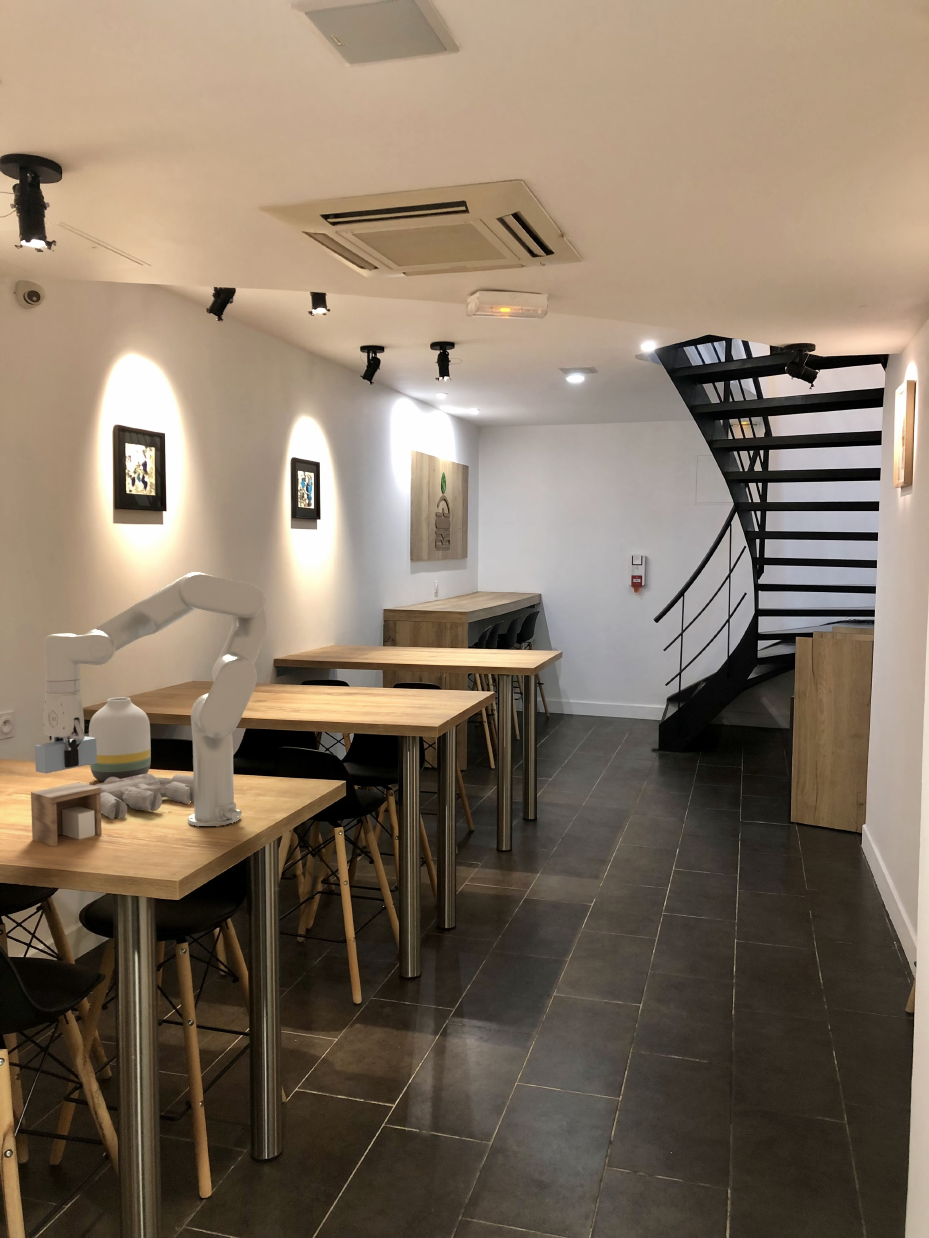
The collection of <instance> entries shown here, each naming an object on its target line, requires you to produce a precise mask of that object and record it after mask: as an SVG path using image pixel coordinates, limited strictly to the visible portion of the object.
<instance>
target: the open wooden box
mask: <svg viewBox="0 0 929 1238" xmlns="http://www.w3.org/2000/svg"><path fill="white" fill-rule="evenodd" d="M93 785H94V784H93ZM93 785H92V784H89V783H85V782H81V781H78V782H73V783H68V784H64V785H59V786H58V785H57V786H54V787H50V788H45V789H39V790H36V791H31V792H30V805H31V806H30V807H31V811H30V812H31V833H32V834H31V835H32V836H31V837H32V838H31V839H33V840H32V841H34V840H36V841H35V842H37V841H39V842H38V843H40V842H42V843H41V844H44V843H45V844H44V845H47V846H50V845H51V846H50V847H53V846H55V847H58V846H57V845H58V843H59V842H58V835H63V825H62V810H63V809H67V808H71V807H76V806H79V807H83V808H87V809H90V810H94V818H95V836H100V835H102V834H103V832H102V829H103V828H102V813H101V796H100V787H97V786H93Z"/></svg>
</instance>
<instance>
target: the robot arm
mask: <svg viewBox="0 0 929 1238" xmlns="http://www.w3.org/2000/svg"><path fill="white" fill-rule="evenodd" d="M265 601H266V598H265V595H264V592H263V590H262V589H261V587H259V586H258V585H256V584H253V583H251V582H246V581H240V580H236V579H235V580H234V579H231V578H224V577H220V576H215V575H211V574H207V573H204V572H203V573H202V572H190V573H187V574H185V575H183V576H181V577H179V578H178V579H176V580H174V581H173V582H170V583H169V584H168V585H166V586H164V587H163V588H161V589H158V591H156V592H154V593H152V594H151V595H148V596H147V597H145V598H143V599H142V600H140V601H138V602H137V603H135V604H133V605H131V606H130V607H129V608H127V609H125V610H124V611H123V612H120V613H118V614H117V615H115V616H113V617H111V618H110V619H108V620H106V621H104V622H103V623H101V624H100V625H97V626H96V627H94V628H92V629H90V630H89V631H87V632H86V633H85V634H79V635H77V634H75V633H52V634H49V635H47V636H45V638H44V641H43V648H44V649H43V650H44V651H43V652H44V678H45V681H44V682H45V694H44V699H43V709H42V712H43V713H42V731H43V734H44V735H46V736H48V738H49V741H50V743H52V742H57V741H63V740H65V745H66V750H65V751H64V758H65V767H66V768H69V767H74V766H78V765H79V755H78V749H79V748H80V743H81V742H82V741H83V740H84V738H85V737H86V736H85V734H84V731H85V717H84V707H83V699H82V696H81V695H82V694H81V693H82V683H81V665H92V666H101V665H105V664H107V663H109V662H110V661H111V660H112V659H113V658H114V656H115V654H116V652H117V651H119V650H121V649H123V648H124V647H126V646H127V645H129V644H132V643H133V642H135V641H137V640H139V639H142V638H143V637H148V636H150V635H155V634H157V633H159V632H161V631H163V630H165V629H167V628H168V627H170V626H171V625H174V624H175V623H177V622H178V621H180V620H181V619H183V618H185V617H187V616H188V615H190V614H191V613H193V612H195V611H196V610H203V611H207V612H211V613H216V614H221V615H227V616H231V621H232V622H231V627H230V631H229V633H228V635H227V639H226V641H225V643H224V645H223V647H222V649H221V651H220V653H219V656H218V657H217V658H216V661H215V663H214V665H213V667H212V670H211V677H212V678H211V679H212V681H213V683H212V686H211V687H210V689H209V692H208V693H205V694H202V695H200V696H199V697H198V698H197V699H195V701H194V702H193V705H192V708H191V709H190V726H191V727H190V728H191V736H192V756H193V757H192V765H193V766H192V768H193V776H194V804H193V808H194V813H192V814H190V815H189V816H188V818H187V822H188V824H189V825H191V826H194V825H195V826H194V827H199V826H216V827H219V826H218V825H224V826H226V825H225V824H229V823H232V822H235V823H237V822H239V821H240V820H241V818H240V817H241V816H242V810H240V809H237V803H236V802H235V797H234V796H235V795H234V794H235V793H234V790H235V787H234V785H235V784H234V747H233V746H234V745H233V744H234V743H233V742H234V741H233V732H234V731H235V729H236V728H237V727H238V725H239V723H240V721H241V719H242V717H243V715H244V713H245V711H246V708H247V706H248V704H249V701H250V699H251V698H252V696H253V693H254V691H255V688H256V686H257V685H256V684H257V681H258V674H257V668H256V667H255V663H256V661H257V659H258V656H259V653H260V651H261V648H262V647H263V643H264V641H265V638H266V635H267V629H268V627H267V626H268V625H267V623H268V621H267V616H266V610H265V608H264V607H265V603H266V602H265ZM70 739H73V740H72V741H71V743H70ZM239 819H240V820H239ZM238 820H239V821H238ZM236 821H237V822H236ZM232 824H233V823H232ZM229 825H230V824H229Z"/></svg>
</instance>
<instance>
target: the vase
mask: <svg viewBox="0 0 929 1238" xmlns="http://www.w3.org/2000/svg"><path fill="white" fill-rule="evenodd" d="M89 721H90V722H89V726H88V737H92V738H96V746H97V763H95V764H91V765H89V766H90V772H91V774H92V776H93V777H94V778H95V779H96V780H97V781H99V782H101V783H104V782H105V780H106V779H108V778H109V777H116V778H119V779H123V778H127V777H132V776H137V775H141V774H149V770H150V768H151V759H152V758H151V757H152V756H151V753H152V752H151V749H152V748H151V724H150V719H149V717H148V714H147V713H146V712H145V711H144V710H143V709H141V708H140V707H138V706H137V705H135V704H134V703H133V702H132V700H131V698H130V697H125V696H123V697H120V696H119V697H111V698H108V699H107V700H106V704H105V705H104V706H102V707H101V708H100V709H99V710H97V711H96V712H95V713H94V714H93V715H92V717H91V719H90V720H89Z"/></svg>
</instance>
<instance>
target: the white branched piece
mask: <svg viewBox="0 0 929 1238" xmlns="http://www.w3.org/2000/svg"><path fill="white" fill-rule="evenodd" d="M93 786H97V787H100V796H101V814H103V815H104V816H105V817H107V818H109V819H110V820H115V817H116V818H118V819H123V818H124V817H126V815H127V812H128V807H130V808H131V809H133V810H139V811H140V810H141V811H146V812H147V811H149V812H157V811H158V810H159V809H160V808H161V806H162V804H163V798H167V799H168V800H171V801H173V800H174V802H177V803H181V802H182V804H185V803H186V805H189V804H188V803H190V804H191V803H193V802H194V775H189V774H187V775H186V774H178V773H177V774H174V775H173V777H172V778H169V777H157V776H154V775H153V774H151V773H147V774H141V775H137V776H132V777H127V778H123V779H119V778H116V777H109V778H108V779H106V780H105V782H101V783H97V784H93ZM190 801H191V802H190Z"/></svg>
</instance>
